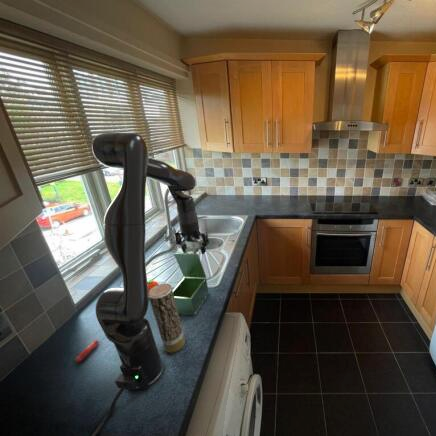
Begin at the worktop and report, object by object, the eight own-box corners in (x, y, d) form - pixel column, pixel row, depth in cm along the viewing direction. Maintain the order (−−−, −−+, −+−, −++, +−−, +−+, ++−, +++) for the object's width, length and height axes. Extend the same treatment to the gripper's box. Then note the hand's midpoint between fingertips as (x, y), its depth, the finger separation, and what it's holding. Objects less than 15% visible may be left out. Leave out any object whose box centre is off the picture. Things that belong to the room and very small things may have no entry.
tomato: (147, 289, 114) (143, 277, 112) (163, 287, 116) (159, 275, 113) (142, 300, 107) (138, 288, 104) (158, 298, 109) (155, 285, 106)
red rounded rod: (80, 363, 80) (78, 359, 79) (75, 363, 80) (73, 359, 79) (100, 343, 87) (98, 339, 86) (95, 342, 87) (93, 338, 86)
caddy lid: (197, 255, 99) (203, 245, 104) (173, 253, 100) (180, 244, 105) (205, 278, 107) (210, 268, 112) (183, 276, 109) (189, 266, 114)
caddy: (194, 315, 99) (191, 299, 96) (171, 313, 100) (166, 297, 97) (208, 293, 111) (206, 278, 108) (187, 292, 112) (184, 276, 109)
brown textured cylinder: (179, 334, 90) (165, 280, 81) (188, 344, 86) (175, 289, 77) (161, 346, 86) (144, 291, 76) (170, 357, 82) (153, 300, 72)
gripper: (167, 222, 98) (175, 256, 105) (200, 224, 97) (205, 258, 103) (177, 216, 105) (184, 248, 111) (208, 217, 104) (213, 249, 110)
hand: (194, 252), depth 107 cm, fingers open, 8 cm apart
